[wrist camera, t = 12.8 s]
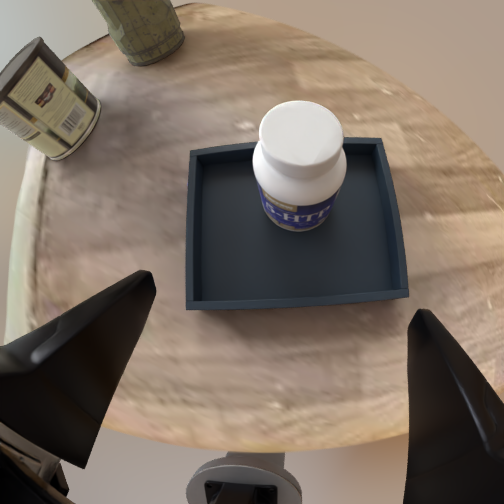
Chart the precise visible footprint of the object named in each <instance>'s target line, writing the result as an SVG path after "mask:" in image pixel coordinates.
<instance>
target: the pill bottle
mask: <svg viewBox="0 0 504 504" xmlns="http://www.w3.org/2000/svg"><path fill="white" fill-rule="evenodd" d="M259 137H260V140H259V141H258V143H257V145H256V147H255V150H254V154H253V169H254V174H255V177H256V181H257V185H258V189H259V192H260V196H261V200H262V204H263V207H264V210H265V212H266V214H267V215H268V217H269V218H270V219H271V220H272V221H273V222H274V223H275V224H276V225H278V226H280V227H281V228H284V229H286V230H290V231H297V232H299V231H307V230H310V229H313V228H315V227H317V226H318V225H320V224H321V223H322V222H323V221H324V220H325V219H326V218H327V216H328V215H329V213H330V211H331V209H332V206H333V204H334V202H335V199H336V197H337V195H338V192H339V190H340V188H341V185H342V183H343V180H344V177H345V174H346V166H347V163H346V156H345V153H344V150H343V148H342V145H343V140H344V134H343V129H342V126H341V124H340V122H339V120H338V119H337V117H336V116H335V115H334V114H333V113H332V112H331V111H329V110H328V109H326V108H325V107H323V106H321V105H319V104H316V103H313V102H308V101H290V102H285V103H282V104H280V105H277V106H276V107H274V108H273V109H271V110H270V111H269V112H268V113H267V114H266V115H265V116H264V118H263V120H262V122H261V124H260V129H259Z"/></svg>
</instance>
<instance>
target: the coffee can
mask: <svg viewBox="0 0 504 504" xmlns="http://www.w3.org/2000/svg"><path fill="white" fill-rule="evenodd" d="M100 108H101V106H100V102H99V100H98V99H97V98H95V97H94V96H93V95H92V93H91V92H90V91H89V90H88V89H87V88H86V87H85V86H84V85H83V84H82V83H81V82H80V81H79V80H78V79H77V78H76V76H75V75H74V74H73V73H72V72H71V71H70V70H69V69H68V68H67V67H66V66H65V65H64V64H63V63H62V61H61V60H60V59H59V58H58V57H57V56H56V55H55V54H54V52H52V51H51V50H50V49H49V47H48V46H47V45H46V44H45V43H44V40H43V39H42V38H41V37H37V38H36V39H34V40H32V41H31V42H30V43H28V44H27V45H26V46H25V47H24V48H22V49H21V50H20V51H19V52H18V53H17V54H16V55H15V56H14V57H13V58H12V59H11V61H10V62H9V63H8V64H7V65H6V66H5V68H4V69H3V70H2V71H1V73H0V124H1V125H2V126H4V127H5V128H7V129H8V130H10V131H11V132H12V133H14V134H15V135H17V136H18V137H20V138H21V139H23V140H24V141H26V142H27V143H29V144H30V145H32V146H33V147H35V148H36V149H38V150H39V151H41V152H42V153H44V154H45V155H47V156H48V157H49V158H50V159H52V160H60V159H63V158H65V157H67V156H68V155H70V154H71V153H72V152H73V151H75V150H76V149H77V148H78V147H79V146H80V145H81V144H82V143H83V141H84V140H85V139H86V138H87V136H88V135H89V134H90V132H91V131H92V129H93V128H94V126H95V124H96V122H97V119H98V117H99V113H100Z"/></svg>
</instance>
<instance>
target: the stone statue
mask: <svg viewBox="0 0 504 504" xmlns="http://www.w3.org/2000/svg"><path fill="white" fill-rule="evenodd" d="M92 2H93V3H94V4H95V6H96V7H97V9H98V10H99V12H100V13H101V15H102V16H103V18H104V19H105V21H106V22H107V24H108V31H109V35H110V36H111V37H112V39H113V40H114V42H115V43H116V45H117V46H118V48H119V49H120V51H121V52H122V53H123V54H125V55H126V56H127V58H128V60H129V62H130V63H131V64H132V65H135V66H144V65H148V64H151V63H154V62H157V61H159V60H161V59H163V58H165V57H166V56H168V55H170V54H171V53H173V52H174V51H175V50H176V49H178V48H179V47H180V45H181V44H182V43H183V41H184V38H185V36H184V34H183V31H182V30H181V28H180V22H179V19H178V17H177V15H176V12H175V10H174V8H173V5H172V4H171V1H170V0H92Z"/></svg>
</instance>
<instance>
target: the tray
mask: <svg viewBox="0 0 504 504" xmlns="http://www.w3.org/2000/svg"><path fill="white" fill-rule="evenodd" d="M257 143H258V142H249V143H240V144H232V145H224V146H217V147H210V148H203V149H197V150H191V151H190V161H189V176H188V194H187V217H186V310H245V309H273V308H294V307H311V306H325V305H338V304H350V303H361V302H371V301H381V300H390V299H398V298H407V297H409V289H408V276H407V266H406V257H405V248H404V241H403V234H402V228H401V221H400V216H399V210H398V205H397V200H396V195H395V190H394V185H393V181H392V177H391V172H390V168H389V164H388V161H387V157H386V153H385V149H384V146H383V142H382V139H381V138H361V137H344V140H343V145H342V148H343V150H344V153H345V156H346V163H347V166H346V174H345V177H344V180H343V183H342V185H341V188H340V190H339V192H338V195H337V197H336V199H335V202H334V204H333V206H332V209H331V211H330V213H329V215H328V216H327V218H326V219H325V220H324V221H323V222H322V223H321V224H320V225H318V226H317V227H315V228H313V229H310V230H307V231H299V232H297V231H290V230H286V229H284V228H281V227H280V226H278V225H276V224H275V223H274V222H273V221H272V220H271V219H270V218H269V217H268V215H267V214H266V212H265V210H264V207H263V204H262V200H261V196H260V192H259V189H258V185H257V181H256V177H255V174H254V169H253V154H254V150H255V147H256V145H257Z"/></svg>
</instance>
